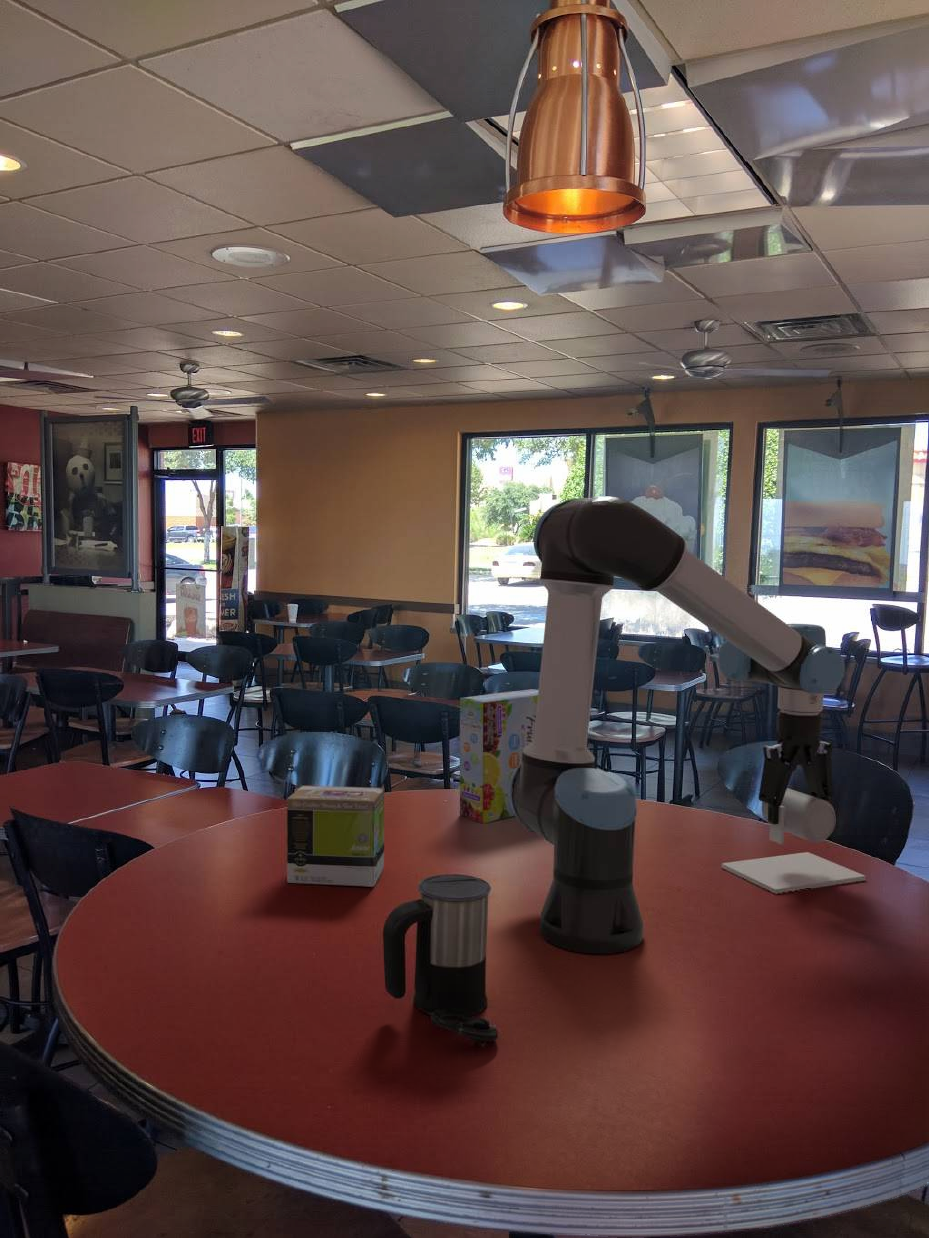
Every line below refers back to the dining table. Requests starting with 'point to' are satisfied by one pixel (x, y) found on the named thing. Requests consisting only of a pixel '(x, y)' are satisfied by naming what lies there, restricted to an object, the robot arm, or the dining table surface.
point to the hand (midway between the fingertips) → (794, 838)
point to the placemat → (792, 872)
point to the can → (806, 816)
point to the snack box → (493, 750)
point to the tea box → (335, 835)
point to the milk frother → (444, 952)
